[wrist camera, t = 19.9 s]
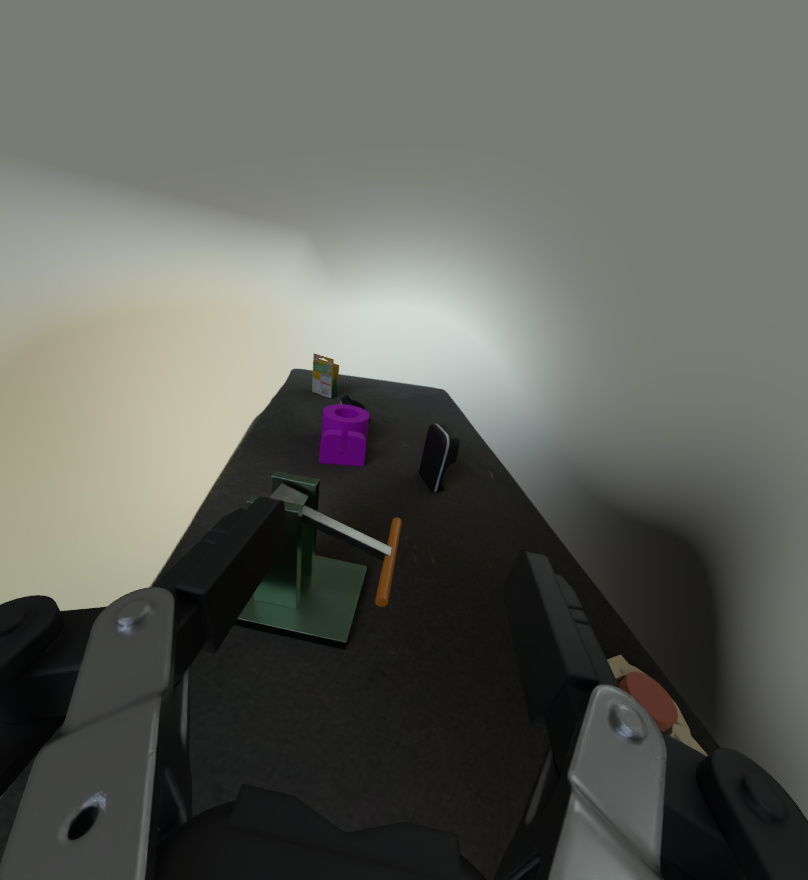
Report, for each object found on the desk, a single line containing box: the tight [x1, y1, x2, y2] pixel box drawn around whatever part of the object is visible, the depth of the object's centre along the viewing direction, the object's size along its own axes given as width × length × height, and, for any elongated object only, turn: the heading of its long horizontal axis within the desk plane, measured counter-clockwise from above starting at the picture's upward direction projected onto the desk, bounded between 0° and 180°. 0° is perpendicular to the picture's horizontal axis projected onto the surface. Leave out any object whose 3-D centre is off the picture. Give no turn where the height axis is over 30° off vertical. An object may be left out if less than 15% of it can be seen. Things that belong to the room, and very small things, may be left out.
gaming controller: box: [340, 394, 371, 425], centre depth 78 cm, size 11×4×7 cm
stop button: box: [619, 671, 678, 732], centre depth 25 cm, size 4×4×2 cm
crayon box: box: [312, 354, 339, 399], centre depth 88 cm, size 7×3×12 cm, turn 63°
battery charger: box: [419, 424, 460, 492], centre depth 55 cm, size 7×4×11 cm, turn 18°
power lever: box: [270, 483, 402, 607], centre depth 28 cm, size 13×10×2 cm
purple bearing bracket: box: [319, 405, 369, 466], centre depth 63 cm, size 16×10×6 cm, turn 8°
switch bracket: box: [234, 471, 367, 649], centre depth 30 cm, size 16×9×14 cm, turn 84°
